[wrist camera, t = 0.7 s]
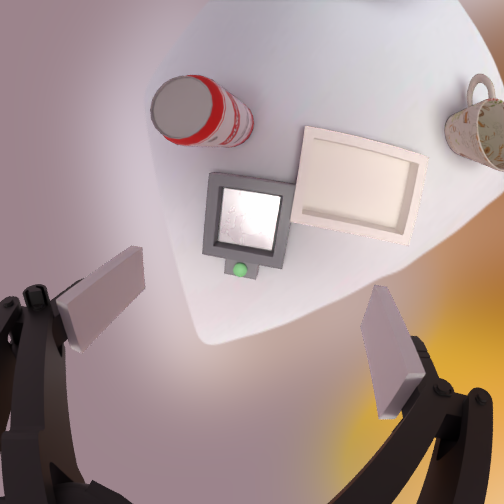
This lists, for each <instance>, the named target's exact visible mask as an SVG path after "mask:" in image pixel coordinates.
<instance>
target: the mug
mask: <svg viewBox="0 0 504 504" xmlns="http://www.w3.org/2000/svg"><path fill="white" fill-rule="evenodd" d="M478 83H483V84H484V85H485V86H486V87H487V89H488V96H489V99H486V100H483V101H481V102H479V103H477V104H475V105H473V104H472V96H473V91H474V88H475V87H476V85H477V84H478ZM467 103H468V108H466V109H464V110H462V111H460V112H458V113H456V114H454V115H452V116H451V117H450V118H449V119H448V120H447V122H446V126H445V136H446V140H447V142H448V144H449V146H450V148H451V149H452V150H453V151H454V152H455V153H456V154H458V155H460V156H463V157H465V158H468V159H471V160H473V161H476V162H478V163H481V164H483V165H486V166H488V167H491V168H493V169H495V170H498V171H502V172H504V102H503V101H502V100H499V99H496V96H495V89H494V85H493V83H492V81H491V80H490V79H489V78H488V77H487V76H486V75H484V74H476V75H475V76H474V77H473V78H472V79H471V81H470V84H469V87H468V91H467Z"/></svg>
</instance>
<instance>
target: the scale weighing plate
mask: <svg viewBox="0 0 504 504" xmlns="http://www.w3.org/2000/svg"><path fill="white" fill-rule="evenodd" d="M280 197H281V196H278V195H272V194H266V193H260V192H253V191H247V190H240V189H233V188H224V194H223V204H222V213H221V223H220V233H219V241H222V242H227V243H233V244H238V245H244V246H249V247H255V248H260V249H266V250H271V251H272V246H273V240H274V234H275V228H276V222H277V216H278V210H279V203H280Z"/></svg>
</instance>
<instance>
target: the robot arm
mask: <svg viewBox="0 0 504 504" xmlns="http://www.w3.org/2000/svg"><path fill="white" fill-rule="evenodd" d="M144 289H145V279H144V267H143V252H142V247H137V246H130V247H129V248H127V249H126V250H124V251H123V252H122V253H120V254H118V255H117V256H115V257H114V258H113V259H111V260H110V261H108V262H107V263H105V264H104V265H102V266H101V267H100V268H98V269H97V270H95V271H94V272H92V273H91V274H90V275H88V276H87V277H85V278H83V279H81V280H78V281H76V282H75V283H74V284H72V285H71V287H68V288H67V289H66V290H65V291H63V292H61V293H60V294H59V295H58V296H56V297H55V298H54V299H52V300H51V301H50V299H49V296H48V292H47V288H46V286H44V285H41V284H37V285H32V286H30V287H28V288H26V289H25V290H24V291H23V296H24V300H25V303H26V306H27V307H24V306H21V304H20V301H19V299H18V298H17V297H14V296H13V297H10V296H9V297H6V298H5V299H4V300H2V301H1V302H0V453H1V461H2V476H3V486H4V494H5V496H4V497H0V504H132V503H131V502H130V501H128V500H127V499H126V498H124V497H123V496H122V495H120V494H118V493H116V492H114V491H112V490H110V489H108V488H106V487H104V486H103V485H101V484H99V483H97V482H95V481H93V480H92V481H91V483H90V484H85V481H84V479H83V477H82V475H81V473H80V471H79V469H78V467H77V463H76V458H75V453H74V448H73V442H72V435H71V429H70V421H69V412H68V403H67V390H66V367H65V346H64V342H65V341H66V340H67V339H68V341H69V344H70V347H71V348H72V349H74V350H76V351H78V352H80V353H83V352H84V351H85V350H86V349H87V348H88V347H89V345H91V344H92V343H93V341H94V340H95V339H96V338H97V337H98V336H99V335H100V334H101V333H102V332H103V331H104V330H105V329H106V328H107V327H108V326H109V325H110V324H111V323H112V321H114V319H116V318H117V316H118V315H119V314H120V313H121V312H122V311H123V310H124V309H125V308H126V307H127V306H128V305H129V304H130V303H131V302H132V301H133V300H134V299H135V298H136V297H137V296H138V295H139V294H140V293H141V292H142V291H143V290H144ZM361 331H362V335H363V340H364V344H365V348H366V353H367V357H368V362H369V367H370V372H371V377H372V382H373V387H374V393H375V399H376V404H377V411H378V417H379V419H395V418H396V417H397V415H398V414H399V413H400V411H402V415H403V419H402V420H401V421H400V422H399V424H398V425H397V426H396V428H395V429H394V430H393V431H392V433H391V435H390V436H389V437H388V439H387V440H386V441H385V442H384V444H383V445H382V446H381V448H380V449H379V450H378V451H377V452H376V453H375V455H374V456H373V457H372V458H371V460H370V461H369V462H368V463H367V464H366V465H365V466H364V468H363V469H362V470H361V471H360V472H359V473H358V474H357V475H356V476H355V477H354V478H353V479H352V480H351V482H349V483H348V484H347V485H346V486H345V487H344V489H342V490H341V491H340V492H339V493H338V494H337V495H336V496H335V497H334V498H333V499H332V500H331V501H330V502H329V503H328V504H392V502H393V501H394V500H395V498H396V497H397V496H398V494H399V493H400V492H401V490H402V489H403V487H404V486H405V485H406V483H407V482H408V480H409V479H410V477H411V476H412V474H413V473H414V471H415V470H416V468H417V467H418V465H419V463H420V461H421V460H422V458H423V457H424V455H425V453H426V452H427V450H428V448H429V446H430V445H431V443H432V441H433V439H434V437H435V438H436V442H435V446H434V450H433V454H432V458H431V461H430V465H429V469H428V472H427V475H426V478H425V481H424V484H423V487H422V490H421V493H420V496H419V498H418V501H417V504H484V502H485V497H486V492H487V486H488V480H489V472H490V463H491V453H492V437H493V402H492V398H491V396H490V394H489V393H488V392H487V391H486V390H484V389H482V388H473V389H472V390H471V391H470V392H469V394H468V395H463V394H459V393H455V392H454V389H453V387H452V386H451V384H450V383H448V382H447V381H446V380H444V379H441V378H439V376H438V374H437V372H436V369H435V367H434V365H433V362H432V360H431V359H430V355H429V353H428V352H427V349H426V347H425V345H424V343H423V342H422V341H421V340H420V339H419V338H418V337H417V336H410V334H409V332H408V330H407V328H406V325H405V323H404V321H403V319H402V317H401V315H400V312H399V310H398V308H397V306H396V304H395V302H394V300H393V298H392V296H391V294H390V292H389V290H388V288H387V287H386V286H379V285H374V288H373V291H372V294H371V297H370V300H369V303H368V306H367V309H366V312H365V315H364V318H363V321H362V323H361ZM8 335H10V337H11V341H10V343H9V342H8ZM10 411H11V427H10V430H9V431H5V430H6V426H7V422H8V419H9V415H10Z"/></svg>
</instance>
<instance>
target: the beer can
mask: <svg viewBox="0 0 504 504" xmlns="http://www.w3.org/2000/svg"><path fill="white" fill-rule="evenodd" d="M150 112H151V120H152V122H153V124H154V127H155V128H156V129H157V130H158V131H159V132H160V133H161V134H162V135H163V136H164V137H165V138H166V139H167V140H169V141H171V142H173V143H175V144H177V145H183V146H201V147H235V146H237V145H239V144H242V143H243V142H244V141H245V140H246V139H248V138H249V136H250V134H251V132H252V130H253V125H254V121H253V115H252V113H251V111H250V109H249V108H248V107H247V106H246V105H245V104H244V103H242V102H241V101H240V100H239V99H237V98H236V97H235V96H233V95H232V94H231V93H229V92H228V91H227V90H225V89H224V88H223V87H221V86H220V85H219V84H217V83H216V82H215V81H213V80H211V79H209V78H207V77H204V76H201V75H187V76H179V77H176V78H172V79H170V80H169V81H167V82H166V83H164V84H163V85H162V86H161V87H160V88H159V89H158V90H157V92H156V94H155V96H154V98H153V100H152V104H151V109H150Z"/></svg>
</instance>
